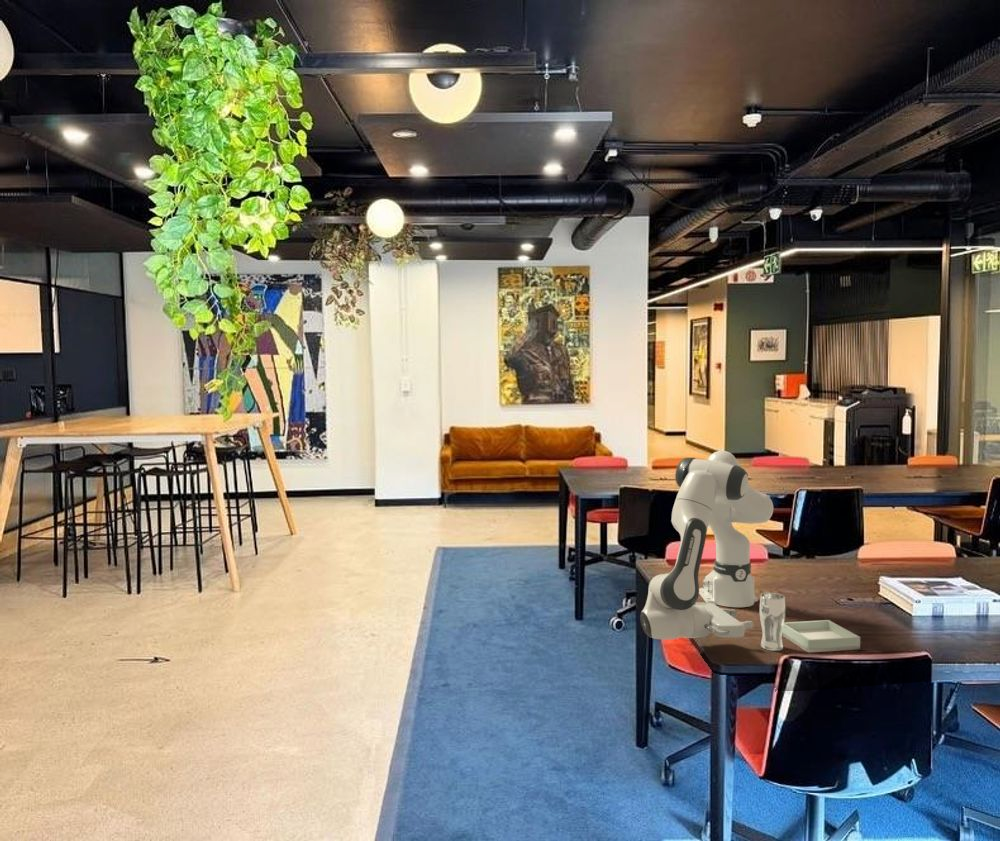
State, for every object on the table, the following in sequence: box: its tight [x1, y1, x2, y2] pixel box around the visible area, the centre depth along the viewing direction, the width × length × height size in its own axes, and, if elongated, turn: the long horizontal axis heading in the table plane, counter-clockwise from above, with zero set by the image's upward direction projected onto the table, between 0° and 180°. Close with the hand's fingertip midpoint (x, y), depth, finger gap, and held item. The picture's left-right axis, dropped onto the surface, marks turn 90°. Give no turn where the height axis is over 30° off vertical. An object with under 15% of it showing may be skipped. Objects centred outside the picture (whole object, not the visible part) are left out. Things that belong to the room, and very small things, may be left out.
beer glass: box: [758, 592, 786, 652], centre depth 207 cm, size 7×7×15 cm
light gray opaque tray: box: [782, 619, 861, 653], centre depth 211 cm, size 15×16×4 cm
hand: (744, 618), depth 205 cm, fingers open, 8 cm apart
